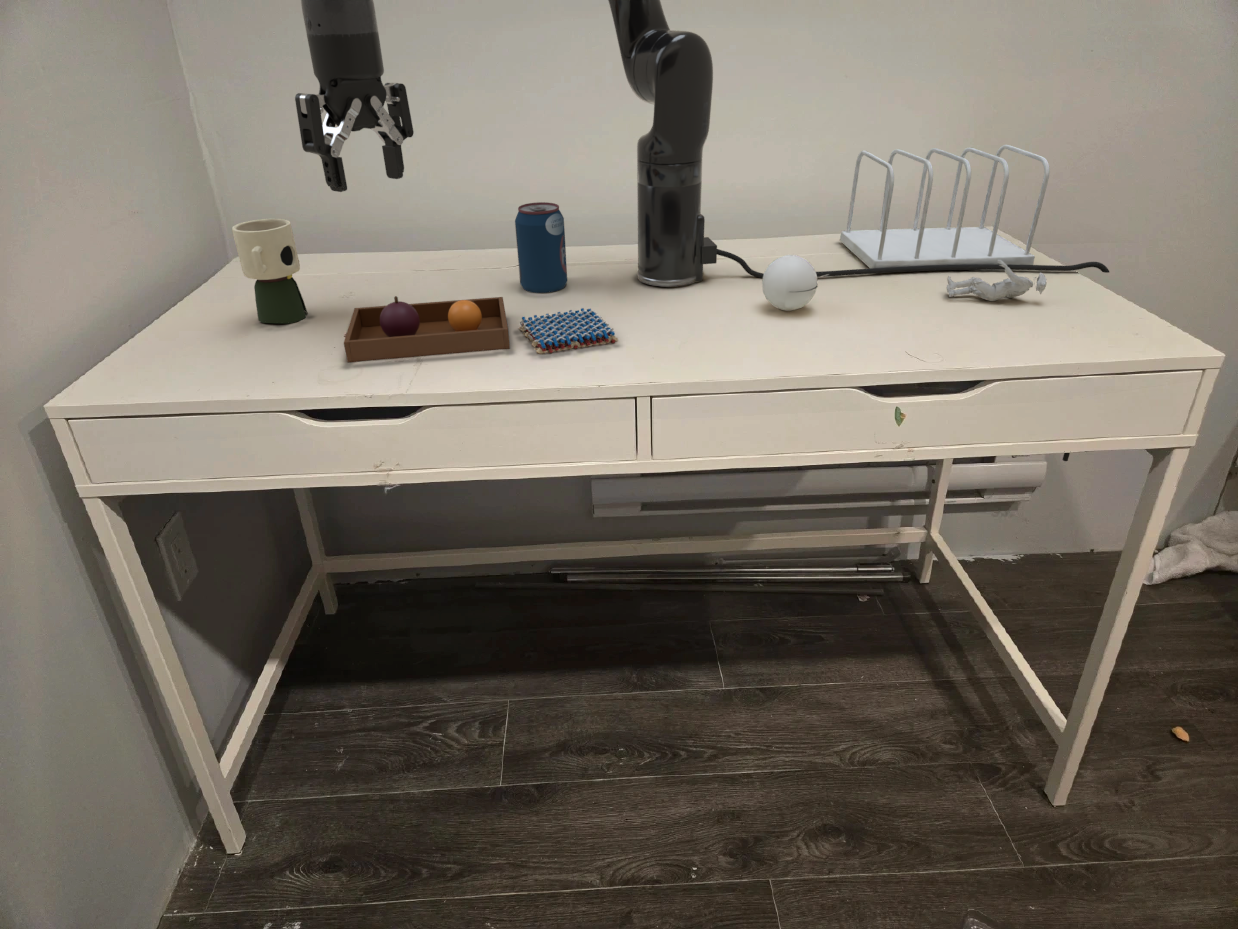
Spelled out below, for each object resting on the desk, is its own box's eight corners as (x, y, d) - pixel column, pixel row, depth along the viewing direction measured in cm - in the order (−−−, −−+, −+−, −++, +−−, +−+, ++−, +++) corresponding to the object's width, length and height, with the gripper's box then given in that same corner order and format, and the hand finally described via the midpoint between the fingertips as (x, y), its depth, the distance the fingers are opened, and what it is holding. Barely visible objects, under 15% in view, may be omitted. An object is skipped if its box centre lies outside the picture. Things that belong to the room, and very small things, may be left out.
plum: (422, 330, 105) (416, 288, 102) (421, 344, 100) (414, 300, 98) (384, 333, 104) (377, 291, 101) (381, 347, 100) (373, 304, 97)
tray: (504, 318, 109) (502, 296, 108) (510, 352, 99) (507, 328, 98) (358, 330, 107) (354, 307, 105) (348, 366, 96) (343, 342, 95)
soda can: (576, 291, 119) (571, 207, 112) (533, 300, 116) (526, 215, 109) (554, 279, 124) (549, 198, 118) (513, 287, 121) (505, 205, 115)
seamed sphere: (773, 321, 107) (777, 266, 103) (751, 303, 113) (755, 250, 109) (842, 313, 109) (849, 259, 105) (818, 296, 115) (823, 244, 111)
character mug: (303, 334, 106) (280, 234, 99) (246, 337, 105) (219, 237, 99) (318, 306, 115) (298, 213, 109) (267, 309, 115) (243, 215, 108)
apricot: (482, 325, 106) (479, 294, 104) (483, 337, 102) (480, 305, 100) (450, 328, 105) (446, 296, 103) (450, 339, 102) (445, 307, 100)
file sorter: (872, 273, 123) (887, 165, 115) (838, 243, 138) (849, 145, 130) (1033, 267, 124) (1059, 159, 116) (982, 237, 139) (1002, 140, 131)
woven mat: (592, 319, 109) (592, 304, 108) (620, 347, 100) (620, 331, 99) (517, 330, 106) (515, 315, 105) (538, 360, 97) (537, 344, 96)
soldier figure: (944, 295, 117) (1034, 271, 114) (953, 325, 115) (1044, 301, 112) (946, 269, 110) (1042, 243, 107) (956, 301, 108) (1053, 275, 105)
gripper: (310, 32, 81) (341, 199, 89) (414, 26, 91) (434, 176, 99) (263, 32, 85) (297, 192, 93) (369, 26, 95) (391, 171, 103)
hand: (368, 184), depth 96 cm, fingers open, 8 cm apart
